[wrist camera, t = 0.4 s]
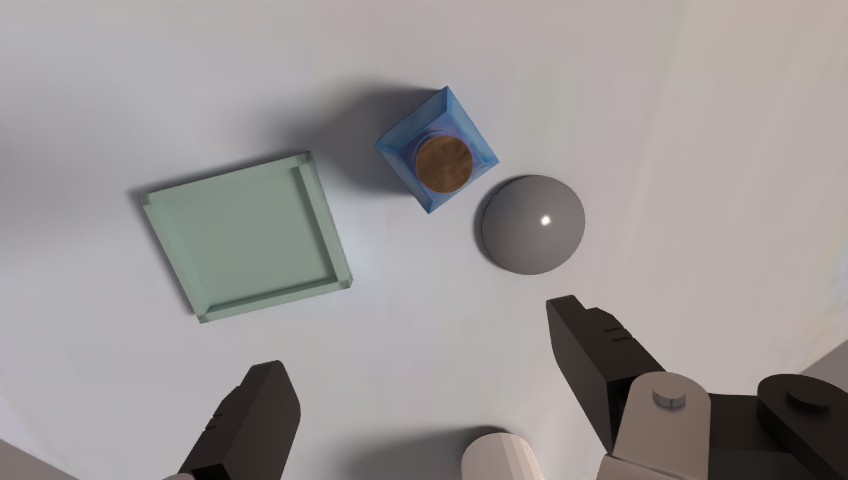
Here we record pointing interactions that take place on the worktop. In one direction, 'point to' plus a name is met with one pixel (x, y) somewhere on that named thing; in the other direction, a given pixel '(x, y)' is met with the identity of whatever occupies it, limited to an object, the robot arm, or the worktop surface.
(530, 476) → the cup
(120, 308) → the worktop surface
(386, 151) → the perfume bottle
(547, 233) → the grey domed puck
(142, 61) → the worktop surface
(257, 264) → the tray
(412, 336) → the worktop surface
